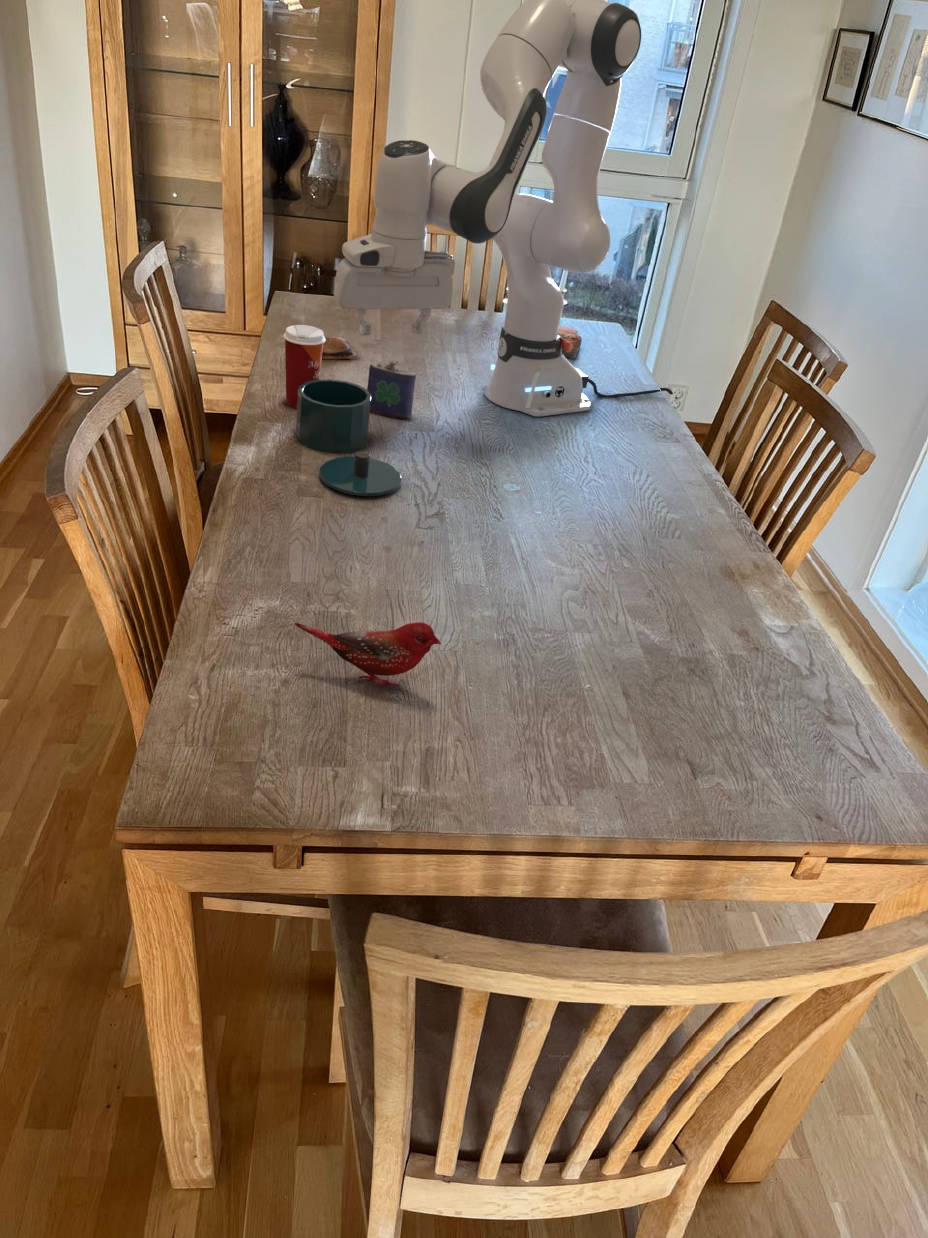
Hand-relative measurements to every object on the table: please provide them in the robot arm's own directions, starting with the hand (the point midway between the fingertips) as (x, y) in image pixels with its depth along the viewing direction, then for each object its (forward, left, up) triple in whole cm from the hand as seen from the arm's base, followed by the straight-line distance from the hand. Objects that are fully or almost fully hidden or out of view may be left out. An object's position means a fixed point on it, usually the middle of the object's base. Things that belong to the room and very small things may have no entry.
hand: (390, 333), depth 168 cm
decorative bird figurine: (+25, +68, -20) cm, 75 cm away
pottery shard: (-60, -49, -20) cm, 80 cm away
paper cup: (+11, -17, -20) cm, 28 cm away
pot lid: (+9, +16, -19) cm, 26 cm away
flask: (-5, -11, -20) cm, 23 cm away
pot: (+9, -1, -19) cm, 21 cm away
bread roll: (-3, -44, -20) cm, 48 cm away
